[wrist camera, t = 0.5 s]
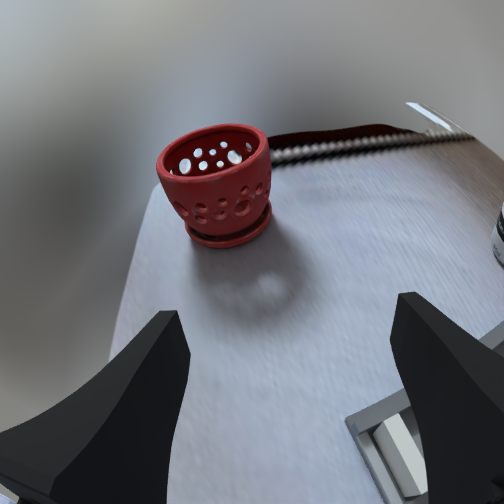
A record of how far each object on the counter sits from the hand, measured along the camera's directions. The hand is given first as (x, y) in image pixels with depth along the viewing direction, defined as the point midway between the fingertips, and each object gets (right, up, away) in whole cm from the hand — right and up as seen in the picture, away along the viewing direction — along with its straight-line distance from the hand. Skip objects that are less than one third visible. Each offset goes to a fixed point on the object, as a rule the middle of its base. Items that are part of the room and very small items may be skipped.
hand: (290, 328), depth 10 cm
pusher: (+11, -13, +9) cm, 19 cm away
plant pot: (-4, +6, +33) cm, 34 cm away
